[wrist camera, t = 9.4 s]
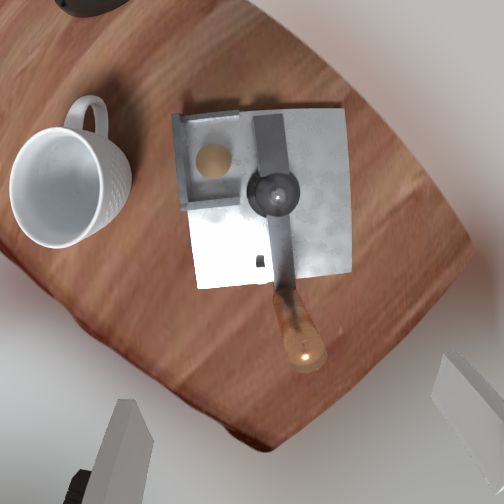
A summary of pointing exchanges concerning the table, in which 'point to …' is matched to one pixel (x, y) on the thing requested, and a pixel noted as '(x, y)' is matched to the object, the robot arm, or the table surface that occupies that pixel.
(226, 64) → the table surface
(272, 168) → the lever
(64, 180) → the mug
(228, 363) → the table surface
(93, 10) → the robot arm
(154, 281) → the table surface
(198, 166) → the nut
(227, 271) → the grey flat slab fixture
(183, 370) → the table surface
